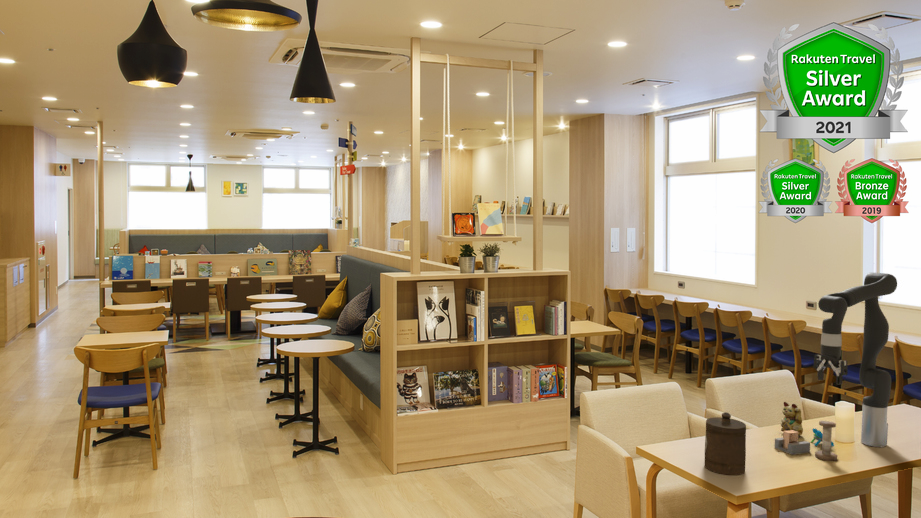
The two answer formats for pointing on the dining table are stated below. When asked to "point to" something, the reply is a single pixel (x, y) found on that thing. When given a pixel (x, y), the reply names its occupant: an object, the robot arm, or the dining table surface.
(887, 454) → the dining table surface
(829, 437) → the bobbin
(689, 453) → the dining table surface
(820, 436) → the gear
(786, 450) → the grooved channel block
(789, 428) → the decorative figurine
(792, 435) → the copper tab
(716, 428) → the wooden container
